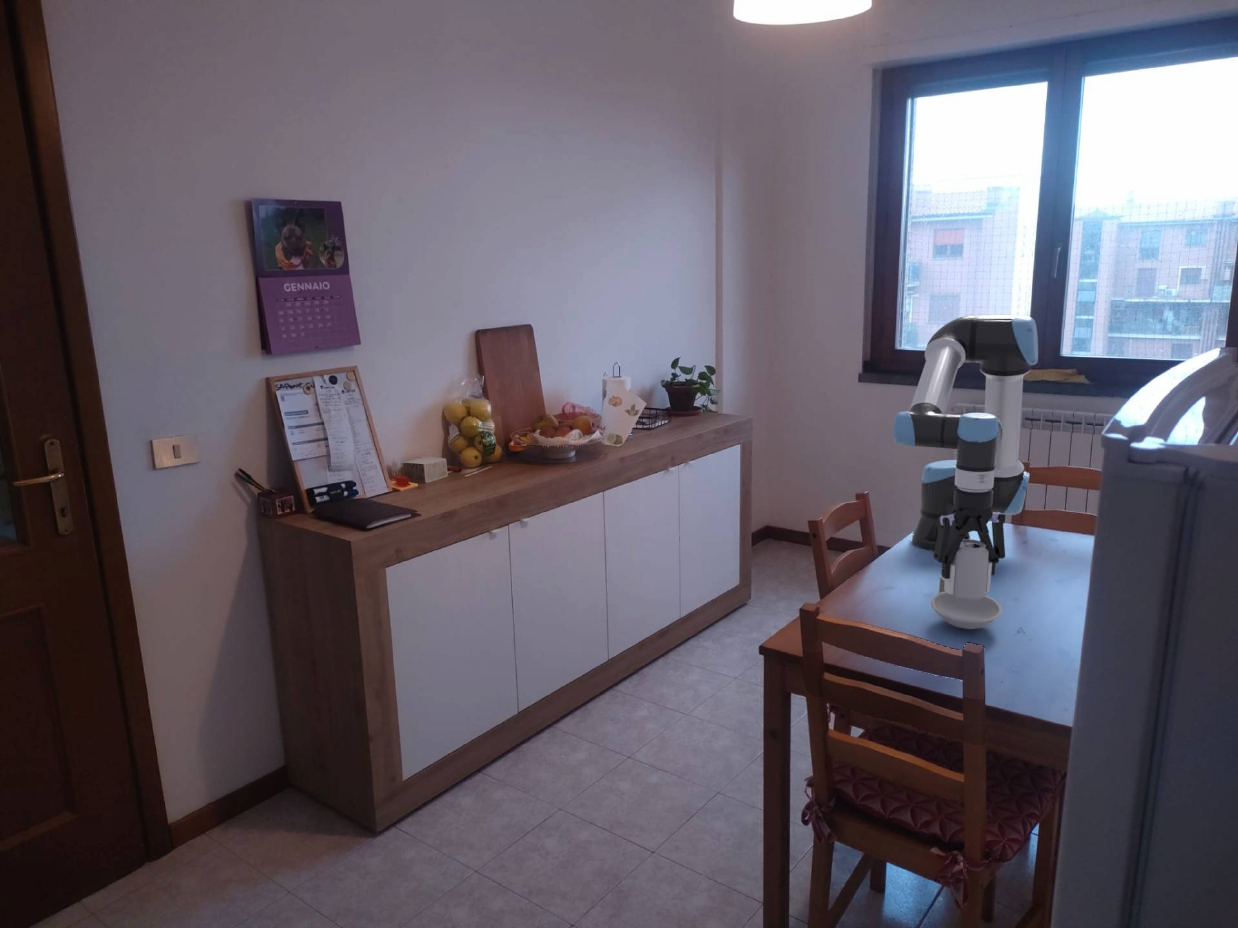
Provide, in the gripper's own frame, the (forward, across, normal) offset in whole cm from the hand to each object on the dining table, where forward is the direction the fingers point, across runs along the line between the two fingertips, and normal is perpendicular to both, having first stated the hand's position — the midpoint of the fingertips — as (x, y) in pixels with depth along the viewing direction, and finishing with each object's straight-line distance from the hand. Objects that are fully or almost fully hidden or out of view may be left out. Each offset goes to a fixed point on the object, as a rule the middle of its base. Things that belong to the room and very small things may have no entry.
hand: (966, 590), depth 184 cm
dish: (+9, 0, 0) cm, 9 cm away
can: (+1, 0, 0) cm, 1 cm away
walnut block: (+9, +7, +17) cm, 20 cm away
